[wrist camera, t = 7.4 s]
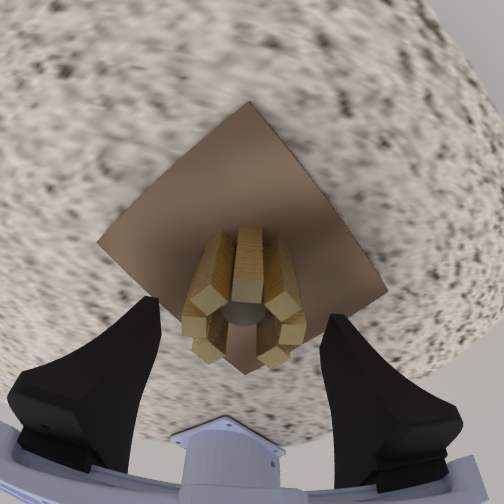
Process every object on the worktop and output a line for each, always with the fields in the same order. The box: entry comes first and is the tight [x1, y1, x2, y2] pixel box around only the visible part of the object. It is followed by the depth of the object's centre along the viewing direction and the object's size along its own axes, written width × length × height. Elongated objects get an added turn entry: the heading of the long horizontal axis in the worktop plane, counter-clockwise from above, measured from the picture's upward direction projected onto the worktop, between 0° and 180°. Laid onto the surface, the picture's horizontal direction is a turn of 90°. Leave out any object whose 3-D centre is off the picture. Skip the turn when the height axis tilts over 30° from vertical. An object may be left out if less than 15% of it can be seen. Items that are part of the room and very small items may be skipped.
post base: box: [97, 102, 388, 375], centre depth 16 cm, size 13×11×5 cm
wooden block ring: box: [181, 225, 307, 369], centre depth 15 cm, size 5×5×5 cm
